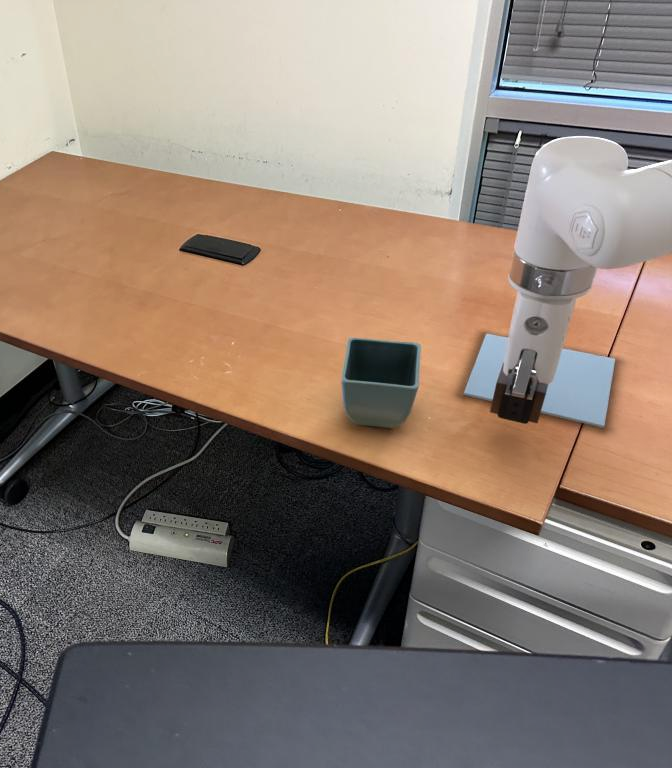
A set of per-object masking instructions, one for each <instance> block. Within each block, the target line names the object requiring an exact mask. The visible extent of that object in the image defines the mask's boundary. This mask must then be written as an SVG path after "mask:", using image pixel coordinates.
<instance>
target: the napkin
mask: <svg viewBox="0 0 672 768" xmlns="http://www.w3.org/2000/svg"><path fill="white" fill-rule="evenodd" d="M507 341H508V337H507V336H502V335H498V334H491V333H485V335H484V338H483V341H482V343H481V346H480V349H479V351H478V354H477V356H476V360H475V362H474V365H473V367H472V370H471V372H470V374H469V378H468V381H467V384H466V387H465V389H464V391H463V396H468V397H471V398H475V399H479V400H484V401H488V402H492V400H493V396H494V391H495V387H496V382H497V379H498V376H499V373H500V371H501V368H502V365H503V363H504V361H505V354H506V347H507ZM615 364H616V358H614V357H608V356H603V355H598V354H593V353H587V352H584V351H579V350H573V349H568V348H563V349H562V353H561V356H560V359H559V363H558V366H557V369H556V373H555V377H554V380H553V382H551V383H550V384H548V388H547V392H546V396H545V399H544V403H543V406H542V410H541V413H540V414H543V415H546V416H552V417H555V418H560V419H564V420H568V421H573V422H576V423H581V424H583V425H584V424H585V425H588V426H593V427H597V428H601V429H605V425H606V421H607V413H608V407H609V403H610V402H609V400H610V395H611V389H612V381H613V376H614V370H615Z"/></svg>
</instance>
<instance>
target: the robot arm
mask: <svg viewBox="0 0 672 768" xmlns="http://www.w3.org/2000/svg"><path fill="white" fill-rule="evenodd" d="M531 162H532V163H531V166H530V171H529V176H528V181H527V185H526V190H525V194H524V198H523V203H522V208H521V213H520V217H519V223H518V226H517V231H516V236H515V241H514V246H513V251H512V256H511V260H510V265H509V268H508V269H509V270H508V274H507V281H508V283H509V285H510V286H511V287H512V288H513V289H515V290H516V291H517V292H516V297H515V301H514V306H513V310H512V316H511V320H510V325H509V331H508V337H507V338H508V341H507V347H506V354H505V361H504V368H503V372H504V373H505V374H506V375H507V376H508V374H510V375H509V379H508V383H507V387H506V388H504V390H503V394H502V399H501V403H500V407H499V411H498V414H497V417H498V418H499V419H503V420H507V421H511V422H515V423H520V424H522V425H523V424H525V425H526V424H529V423H530V422H529V419H530V415H531V411H532V408H533V404H534V401H535V397H536V395H535V394H534V391H535V387H536V383H537V380H538V381H539V382H540V383H546V384H550V383H551V382H553V380H554V377H555V373H556V369H557V366H558V363H559V359H560V356H561V353H562V349H564V346H565V342H566V339H567V335H568V332H569V328H570V325H571V322H572V318H573V315H574V312H575V311H574V310H575V308H576V307H575V306H576V302H577V299H578V298H581V297H583V296H586V295H587V294H588V293H589V292H590V291H591V289H592V287H593V285H594V284H593V283H594V280H595V277H596V274H597V271H598V269H601V270H619V269H623V268H628V267H630V266H634V265H638V264H641V263H645V262H649V261H652V260H655V259H659V258H661V257H664V256H668V255H671V254H672V159H670V160H666V161H661V162H658V163H654V164H651V165H647V166H643V167H640V168H636V169H628V168H629V167H628V166H629V158H628V154H627V152H626V150H625V149H624V148H623V147H622V146H621V145H620V144H618V143H617V142H614V141H612V140H609V139H606V138H602V137H597V136H587V135H585V136H584V135H577V136H575V135H574V136H566V137H560V138H556V139H553V140H551V141H549V142H547V143H545V144H543V145H542V146H541V147H540V148H538V150H537V151H536V153H535V154H534V157H533V160H532V161H531ZM516 366H519V367H516ZM532 369H535V371H533V370H532ZM515 376H516V380H515V383H514V378H515ZM529 379H531V380H532V382H531V385H530V386H528V381H529Z"/></svg>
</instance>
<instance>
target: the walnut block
mask: <svg viewBox="0 0 672 768" xmlns="http://www.w3.org/2000/svg"><path fill="white" fill-rule="evenodd" d="M516 367H519V366H516ZM503 368H504V363H503V365H502V368H501V371H500V373H499V376H498V379H497V382H496V387H495V391H494V396H493V400H492V401H491V403H490V408H489V409H490V410H489V413H491V414H495V415H498V411H499V407H500V403H501V399H502V394H503V390H504V388H506V387H507V383H508V379H509V375H510V374H508V376H507V375H506V374H505V373H504V372H503ZM532 370H533V371H535V369H532ZM515 380H516V376H515V378H514V383H515ZM531 382H532V380H531V379H529V381H528V386H530V385H531ZM547 388H548V384H546V383H540V382H539V381H538V380H537V383H536V387H535V391H534V394H535V395H536V397H535V401H534V404H533V408H532V411H531V415H530V419H529V422H528V423H534V424H538V423H539V420H540V417H541V414H542V413H541V410H542V406H543V403H544V399H545V396H546V392H547Z"/></svg>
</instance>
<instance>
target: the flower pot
mask: <svg viewBox="0 0 672 768" xmlns="http://www.w3.org/2000/svg"><path fill="white" fill-rule="evenodd" d="M421 351H422V344H420V343H417V342H412V341H411V342H410V341H399V340H386V339H385V340H383V339H374V338H373V339H372V338H364V337H363V338H362V337H349V338H348V339H347V343H346V350H345V356H344V362H343V367H342V372H341V378H340V381H341V394H342V404H343V408H344V411H345V413H346V415H347V417H348V418H349V420H351V422H352V423H353V424H355V425H359V426H367V427H376V428H385V429H395V428H397V427H399V426H401V425H402V424H403V423H404V422H406V421H407V419H408V417H409V416H410V414H411V412H412V409H413V405H414V403H415V400H416V397H417V394H418V390H419V387H420V370H421V369H420V368H421Z"/></svg>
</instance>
